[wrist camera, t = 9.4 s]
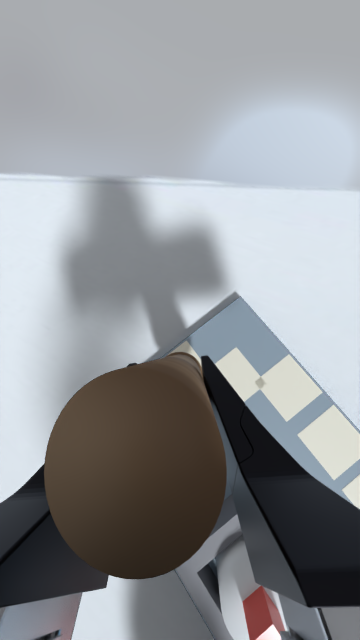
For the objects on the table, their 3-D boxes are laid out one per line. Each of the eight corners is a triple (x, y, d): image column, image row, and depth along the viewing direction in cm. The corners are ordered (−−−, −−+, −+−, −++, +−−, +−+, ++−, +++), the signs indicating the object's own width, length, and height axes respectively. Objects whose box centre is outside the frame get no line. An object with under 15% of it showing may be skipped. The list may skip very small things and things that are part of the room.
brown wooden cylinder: (176, 407, 15) (101, 651, 3) (149, 369, 16) (2, 435, 4) (212, 379, 15) (285, 496, 3) (184, 342, 16) (154, 320, 4)
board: (233, 658, 15) (242, 729, 12) (89, 413, 19) (72, 424, 16) (415, 498, 16) (462, 531, 13) (238, 298, 20) (245, 290, 17)
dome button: (245, 619, 14) (268, 738, 10) (202, 550, 15) (206, 631, 11) (297, 574, 14) (342, 671, 10) (252, 509, 15) (275, 572, 11)
